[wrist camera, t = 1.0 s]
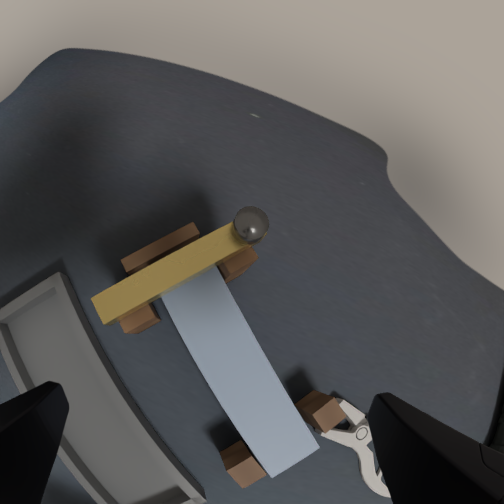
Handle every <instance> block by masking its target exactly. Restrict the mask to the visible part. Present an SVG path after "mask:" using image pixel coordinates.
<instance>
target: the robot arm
mask: <svg viewBox="0 0 504 504" xmlns="http://www.w3.org/2000/svg"><path fill="white" fill-rule="evenodd" d="M68 413H69V402H68V400H67V397H66V395H65V392H64V390H63V387H62V385H61V384H60V383H57V382H53V381H47V382H45V383H43V384H41V385H39V386H37V387H35V388H33V389H31V390H29V391H27V392H25V393H23V394H21V395H19V396H17V397H15V398H13V399H11V400H9V401H7V402H4V403H2V404H0V504H41V500H42V497H43V494H44V491H45V488H46V484H47V481H48V478H49V475H50V472H51V470H52V467H53V464H54V461H55V458H56V456H57V453H58V450H59V446H60V443H61V439H62V435H63V431H64V427H65V424H66V420H67V416H68ZM367 420H368V425H369V428H370V432H371V436H372V440H373V444H374V448H375V453H376V457H377V460H378V463H379V466H380V469H381V472H382V474H383V477H384V480H385V483H386V485H387V488H388V491H389V493H390V496H391V499H392V502H393V504H504V454H502V453H500V452H498V451H496V450H494V449H491V448H489V447H487V446H485V445H483V444H482V443H479V442H477V441H476V440H474V439H472V438H470V437H468V436H466V435H464V434H462V433H460V432H458V431H457V430H455V429H453V428H451V427H449V426H447V425H446V424H444V423H442V422H440V421H438V420H436V419H435V418H433V417H431V416H429V415H428V414H426V413H424V412H422V411H420V410H419V409H417V408H415V407H413V406H412V405H410V404H408V403H406V402H405V401H403V400H401V399H400V398H398V397H396V396H395V395H393V394H391V393H389V392H386V393H380V394H377V395H375V397H374V399H373V401H372V404H371V407H370V409H369V412H368V416H367Z"/></svg>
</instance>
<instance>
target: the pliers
mask: <svg viewBox="0 0 504 504" xmlns="http://www.w3.org/2000/svg"><path fill="white" fill-rule="evenodd" d="M336 401H337V402H338V404H339V405H340V407H341V409H342V410H343V412H344V413H345V415H346V417H345V418H346V419H347V421H348V422H349V424H350V426H349V428H348V430H341V429H336V428H332V429H331V430H329V431H328V432H327V433H326V434H325V433H323V432H322V431H320V430H318V429H316V428H315V432H316V433H318V434H320V435H321V436H324V437H326V438H328V439H331V440H333V441H336V442H338V443H340V444H343V445H345V446H348V447H351V448H352V449H353V450H354V451H355V452H356V454H357V456H358V459H359V468H360V473H361V476H362V479H363V480H364V482H365V483H366V485H367V486H368V487H369V488H370V489H371V490H373V491H374V492H376V493H378V494H379V495H382V496H385V497H391V496H390V493H389V491H388V488H387V487H386V486H385V485H384V484H383V483H382V482H381V476H382V472H381V469H380V466H379V469H378V471H377V473H376V472H375V468H374V459H373V453H372V452H371V451H370V449H369V448H368V447H367V446H366V445H367V444H368V443H369V442H370V441H371V440H372V436H371V432H370V428H369V425H368V421H367V420H366V418H365V417H364V416H365V415H364V414H363V413H362V412H360V411H359V410H357V409H356V408H355V407H353V406H352V405H350V404H349V403H348V402H346V401H345V400H343V399H340V398H336Z"/></svg>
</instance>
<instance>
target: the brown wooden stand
mask: <svg viewBox="0 0 504 504" xmlns="http://www.w3.org/2000/svg"><path fill="white" fill-rule="evenodd" d="M199 234H200V233H199V231H198V229H197V228H196V226H195V224H194V222H192V223H190V224H188V225H186V226H184V227H182V228H180V229H178V230H176V231H174V232H172V233H170V234H168V235H166V236H164V237H162V238H161V239H159V240H157V241H155V242H153V243H151V244H149V245H147V246H145V247H144V248H142V249H140V250H138V251H136V252H134V253H132V254H131V255H129V256H127V257H125V258H123V259H121V262H122V264H123V266H124V268H125V270H126V272H127V273H128V275H129V276H131V275H133V274H135V273H137V272H138V271H140V270H142V269H144V268H146V267H148V266H149V265H151V264H153V263H155V262H157V261H159V260H160V259H162V258H164V257H166V256H168V255H170V254H172V253H173V252H175V251H177V250H179V249H181V248H183V247H185V246H187V245H189V244H190V243H192V242H194V241H196V240H198V239H199ZM257 259H258V256H257V254H256V253H255V251H254V250H253V248H252V247H250V248H248V249H246V250H245V251H243V252H241V253H239V254H237V255H236V256H234V257H232V258H230V259H228V260H227V261H225V262H223V263H221V264H219V265H218V266H217V268H218V270H219V272H220V274H221V276H222V278H223V280H224V281H225V283H228V282H230V281H231V280H233V279H235V278H236V277H238V276H240V275H242V274H243V273H244V272H245V271H246V270H247V269H248V268H249V267H250V266H251V265H252V264H253V263H254V262H255V261H256V260H257ZM160 321H161V319H160V317H159V316H158V314H157V312H156V310H155V308H154V307H153V305H152V303H150V304H148V305H146V306H144V307H142V308H141V309H139V310H137V311H135V312H134V313H132V314H130V315H128V316H126V317H125V318H123V319H121V320H119V323H120V325H121V327H122V328H123V330H124V332H125V333H132V334H138V333H140V332H142V331H144V330H146V329H147V328H149V327H151V326H153V325H154V324H156V323H158V322H160ZM294 406H295V407H296V408H297V410H298V411H299V413H300V414H301V416H302V417H303V419H304V420H305V422H307V423H308V424H310V425H311V426H313V427H315V428H316V429H318V430H320V431H322V432H323V433H325V434H326V433H327V432H328V431H329V430H331V429H332V428H333V427H334V426H336V425H337V424H338V423H339V422H341V421H342V420H343V419H344V418H345V417H346V415H345V413H344V412H343V410H342V409H341V407H340V405H339V404H338V402H337V401H336V399H335V397H332V396H329V395H326V394H323V393H321V392H318V391H315V390H313V391H312V392H310V393H309V394H308V395H306V396H305V397H304V398H302V399H301V400H300V401H298V402H297V403H295V404H294ZM220 455H221V458H222V460H223V463H224V466H225V468H226V471H227V472H228V473H229V474H230V475H231V476H232V478H233V479H234V480H235V481H236V482H237V483H238V484H239V485H240V486H241V487H242V488H245V487H247V486H249V485H250V484H252V483H254V482H256V481H257V480H259V479H261V478H262V477H264V476H265V475H267V473H266V472H265V471H264V469H263V468H262V466H261V465H260V464H259V462H258V461H257V459H256V458H255V456H254V455H253V454H252V453H251V451H250V450H249V449H248V448H247V446H246V445H245V444H244V443H243V441H242V440H240V441H238V442H236V443H235V444H233V445H231V446H230V447H228V448H226V449H224V450H223V451H221V452H220Z"/></svg>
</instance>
